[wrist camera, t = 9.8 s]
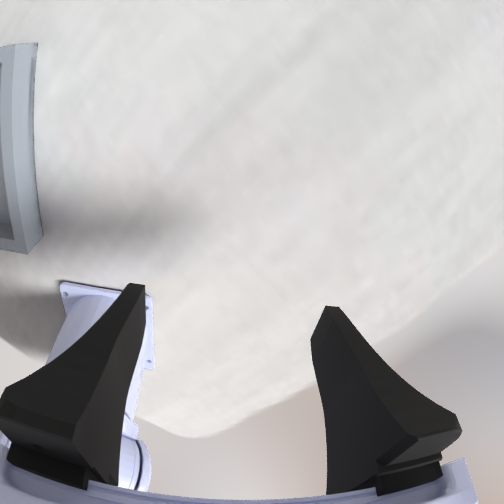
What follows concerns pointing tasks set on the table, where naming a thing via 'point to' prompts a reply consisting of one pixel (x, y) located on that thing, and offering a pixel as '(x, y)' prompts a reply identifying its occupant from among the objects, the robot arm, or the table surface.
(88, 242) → the table surface
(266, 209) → the table surface
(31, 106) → the slate tray
